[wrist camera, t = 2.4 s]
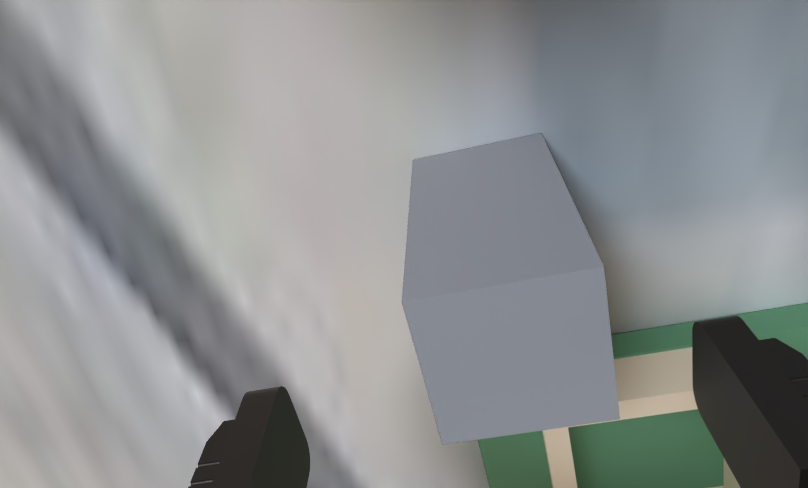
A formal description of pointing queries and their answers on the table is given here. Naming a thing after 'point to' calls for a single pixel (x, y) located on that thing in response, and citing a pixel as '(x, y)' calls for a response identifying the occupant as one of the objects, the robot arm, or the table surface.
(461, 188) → the plug
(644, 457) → the board
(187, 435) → the table surface
